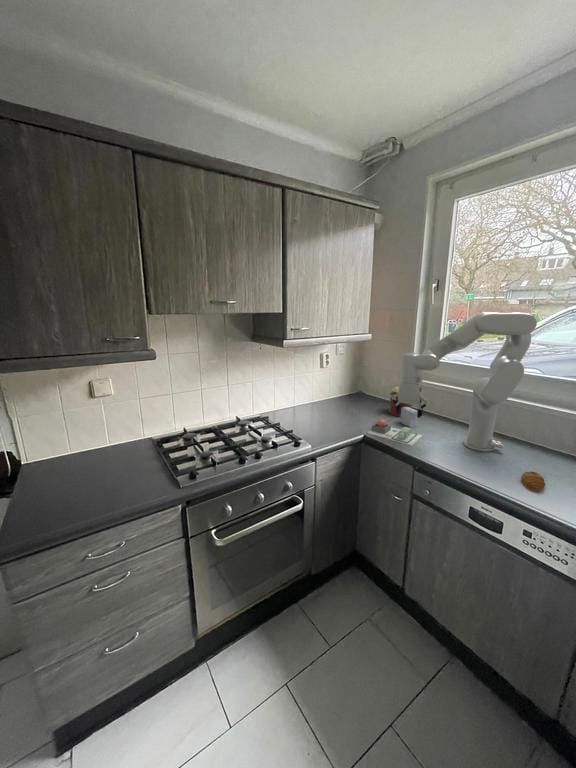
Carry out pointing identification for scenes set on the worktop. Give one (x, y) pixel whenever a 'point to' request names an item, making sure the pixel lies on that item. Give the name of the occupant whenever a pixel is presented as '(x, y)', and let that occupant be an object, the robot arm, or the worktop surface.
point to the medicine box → (408, 416)
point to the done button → (381, 423)
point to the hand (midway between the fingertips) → (408, 415)
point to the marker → (404, 433)
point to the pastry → (533, 481)
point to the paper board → (393, 434)
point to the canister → (392, 405)
